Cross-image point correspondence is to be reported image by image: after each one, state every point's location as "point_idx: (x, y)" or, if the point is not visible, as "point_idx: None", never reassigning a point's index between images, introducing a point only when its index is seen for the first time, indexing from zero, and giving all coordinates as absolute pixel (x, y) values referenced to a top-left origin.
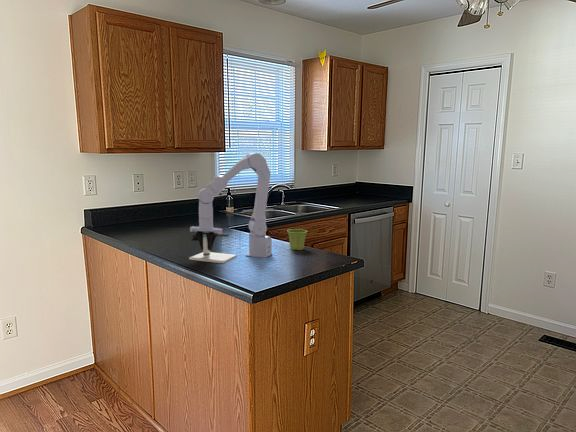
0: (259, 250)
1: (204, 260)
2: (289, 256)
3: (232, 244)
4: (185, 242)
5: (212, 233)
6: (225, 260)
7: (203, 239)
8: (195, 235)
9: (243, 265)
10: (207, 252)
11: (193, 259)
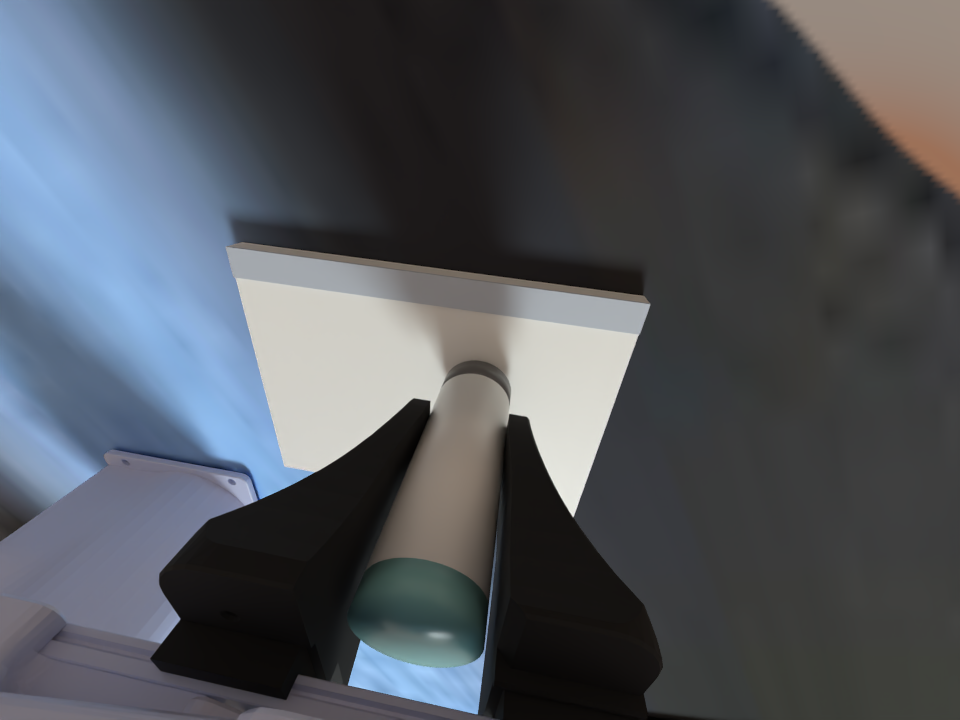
0: (114, 503)
1: (448, 271)
2: (51, 497)
3: (482, 660)
4: (804, 698)
5: (197, 637)
6: (240, 293)
7: (463, 520)
8: (638, 601)
9: (51, 225)
10: (446, 387)
11: (587, 289)
